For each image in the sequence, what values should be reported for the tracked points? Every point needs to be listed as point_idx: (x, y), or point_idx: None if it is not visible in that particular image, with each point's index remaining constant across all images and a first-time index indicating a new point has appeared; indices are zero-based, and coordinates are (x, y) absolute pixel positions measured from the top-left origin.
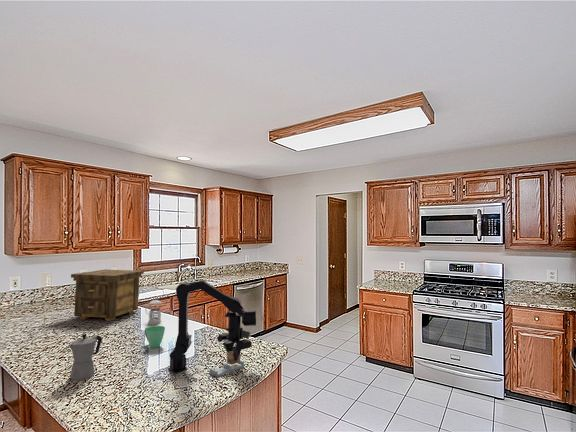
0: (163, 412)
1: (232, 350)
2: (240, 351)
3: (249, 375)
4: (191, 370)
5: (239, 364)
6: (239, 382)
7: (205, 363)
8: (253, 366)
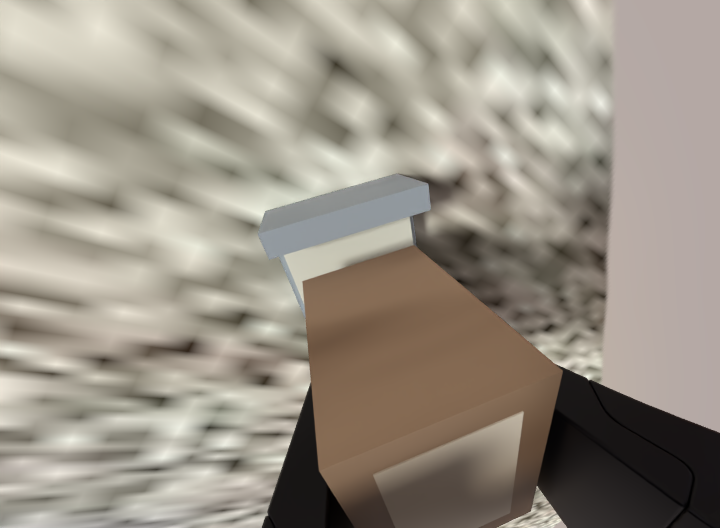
0: (525, 522)
1: (377, 524)
2: (668, 417)
3: (579, 217)
4: (238, 523)
5: (378, 230)
6: (585, 319)
7: (104, 472)
8: (461, 34)
